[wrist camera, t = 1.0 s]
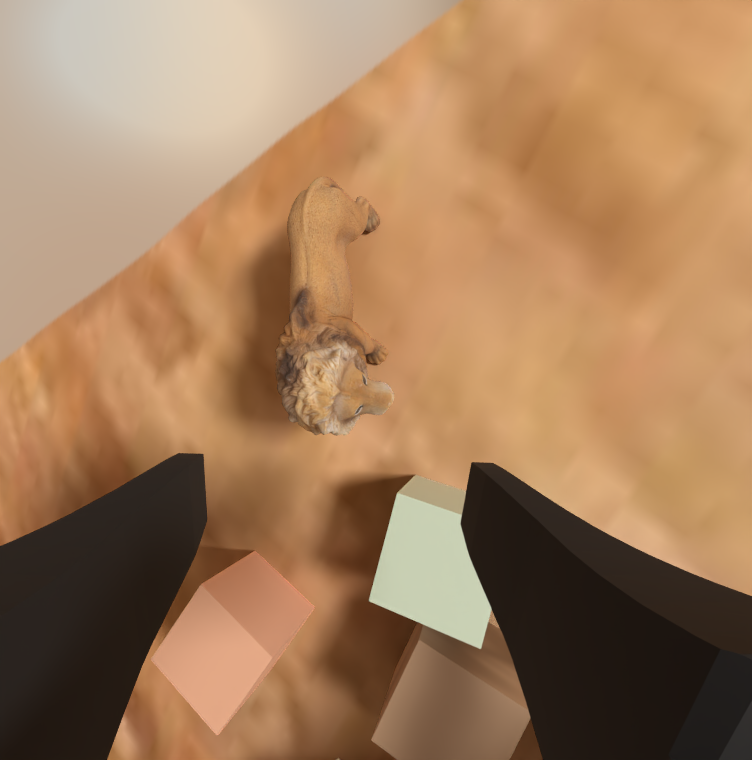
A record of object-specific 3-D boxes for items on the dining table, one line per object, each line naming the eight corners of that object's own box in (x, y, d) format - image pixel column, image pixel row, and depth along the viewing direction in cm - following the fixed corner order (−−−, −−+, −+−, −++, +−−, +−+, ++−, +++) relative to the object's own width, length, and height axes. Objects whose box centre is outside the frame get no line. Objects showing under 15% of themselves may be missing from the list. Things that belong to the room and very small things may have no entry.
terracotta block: (315, 606, 24) (272, 657, 19) (270, 670, 24) (217, 736, 19) (255, 549, 25) (200, 584, 20) (214, 611, 25) (150, 659, 21)
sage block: (505, 503, 21) (512, 532, 16) (481, 594, 21) (480, 649, 16) (415, 474, 23) (397, 492, 18) (393, 559, 23) (368, 601, 18)
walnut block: (521, 641, 21) (532, 713, 16) (480, 725, 21) (479, 820, 16) (433, 588, 22) (418, 639, 17) (395, 667, 22) (370, 740, 17)
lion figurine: (423, 419, 23) (385, 427, 14) (336, 436, 24) (252, 453, 15) (374, 181, 24) (313, 57, 16) (296, 209, 26) (199, 108, 17)
